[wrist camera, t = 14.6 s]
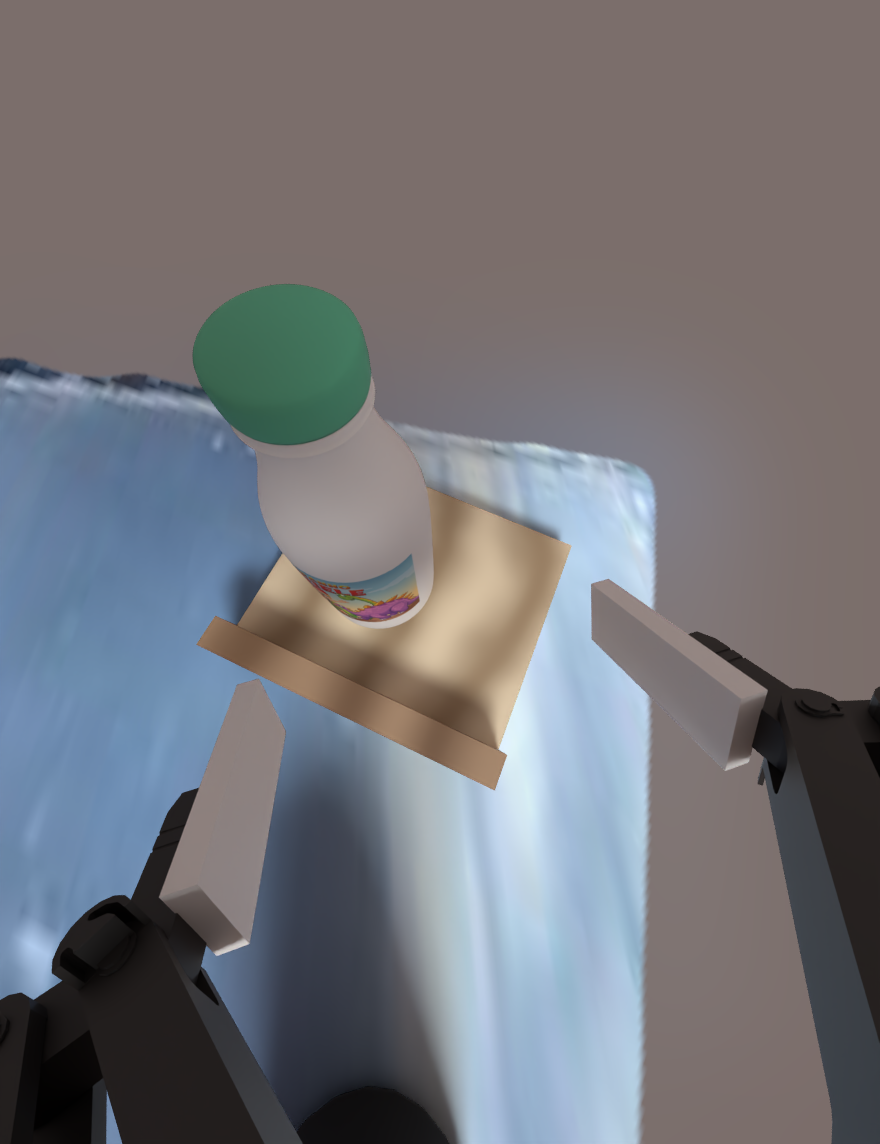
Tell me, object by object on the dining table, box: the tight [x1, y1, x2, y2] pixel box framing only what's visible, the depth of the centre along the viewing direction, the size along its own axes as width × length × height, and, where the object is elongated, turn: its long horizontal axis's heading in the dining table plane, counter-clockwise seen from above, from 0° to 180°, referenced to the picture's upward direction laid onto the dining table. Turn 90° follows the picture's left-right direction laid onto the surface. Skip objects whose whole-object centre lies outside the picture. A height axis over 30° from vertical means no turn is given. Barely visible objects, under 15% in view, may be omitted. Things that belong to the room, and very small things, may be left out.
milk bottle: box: [193, 284, 434, 629], centre depth 20 cm, size 8×8×20 cm
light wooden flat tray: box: [196, 487, 571, 790], centre depth 28 cm, size 20×18×5 cm
